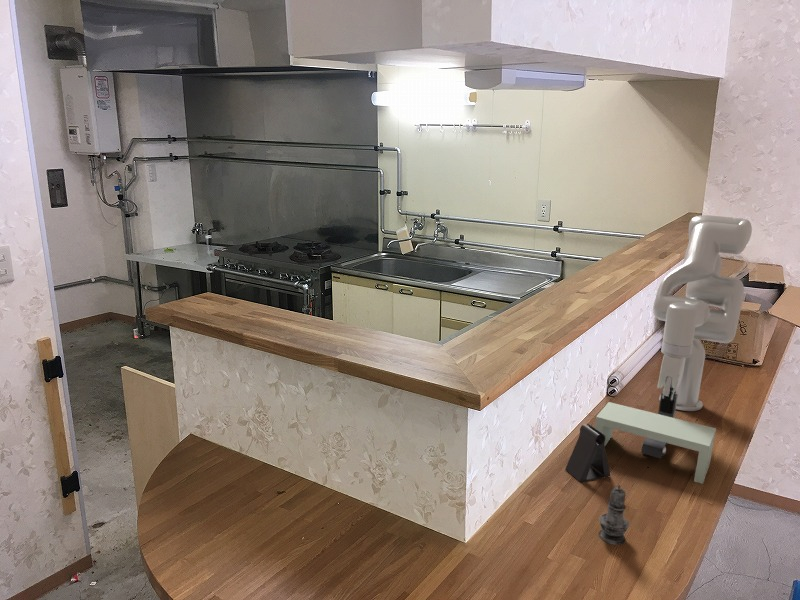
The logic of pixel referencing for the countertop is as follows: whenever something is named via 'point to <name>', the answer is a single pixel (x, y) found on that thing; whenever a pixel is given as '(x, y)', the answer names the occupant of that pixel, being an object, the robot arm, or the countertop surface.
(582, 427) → the black wedge-shaped stand
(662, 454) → the steel disc
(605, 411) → the low shelf
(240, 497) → the countertop surface
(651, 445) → the gray l-shaped block
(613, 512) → the grey tall tapered piece
